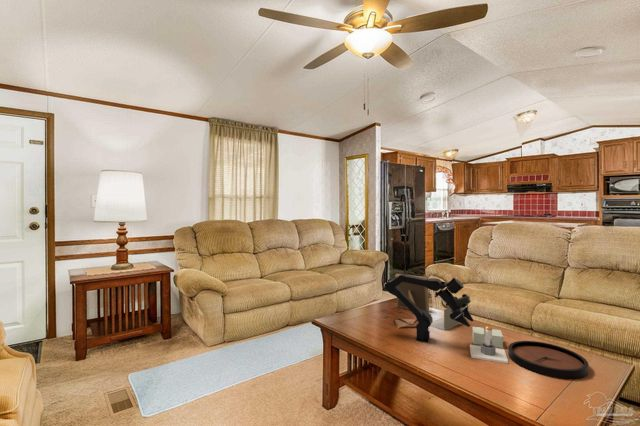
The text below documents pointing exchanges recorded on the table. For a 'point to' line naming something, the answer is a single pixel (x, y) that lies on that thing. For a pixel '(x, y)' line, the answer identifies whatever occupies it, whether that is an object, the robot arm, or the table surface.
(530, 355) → the wall clock
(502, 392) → the table surface
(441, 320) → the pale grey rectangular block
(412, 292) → the tall grey box
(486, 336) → the gold topped patterned cylinder
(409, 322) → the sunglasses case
